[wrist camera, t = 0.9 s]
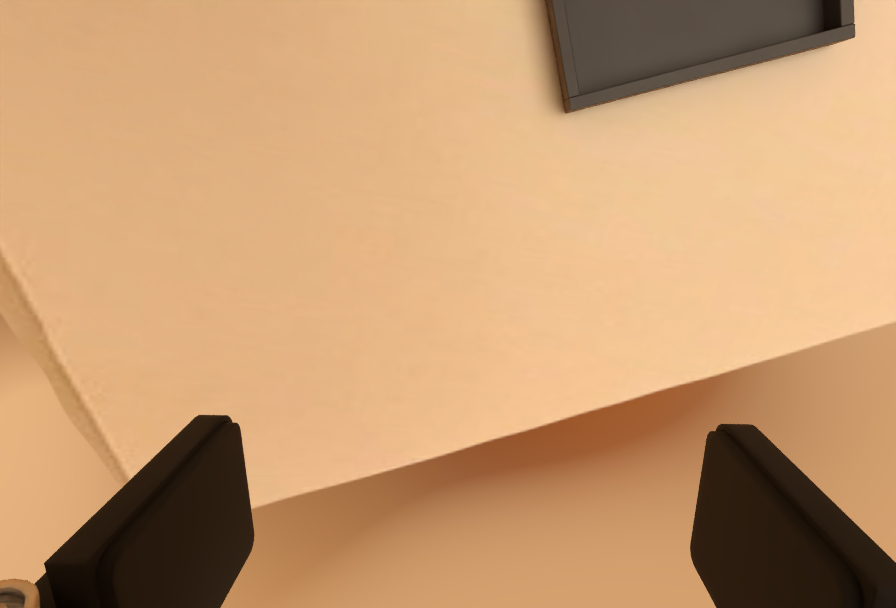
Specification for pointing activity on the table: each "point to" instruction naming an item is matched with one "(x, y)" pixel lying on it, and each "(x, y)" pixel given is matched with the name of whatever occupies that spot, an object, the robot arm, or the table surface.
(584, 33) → the tray
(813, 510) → the robot arm
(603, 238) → the table surface
